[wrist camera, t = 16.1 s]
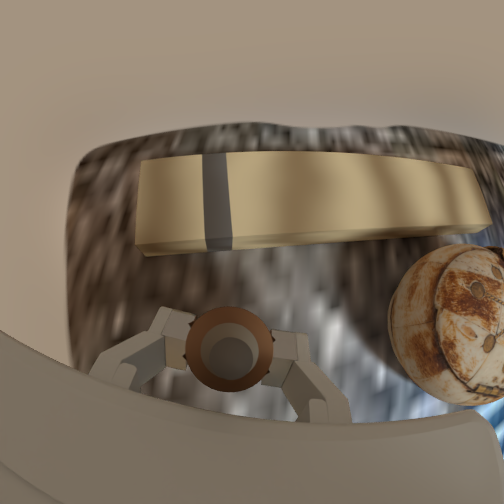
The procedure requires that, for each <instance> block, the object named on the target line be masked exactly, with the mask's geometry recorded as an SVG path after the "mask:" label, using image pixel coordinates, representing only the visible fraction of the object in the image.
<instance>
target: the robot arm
mask: <svg viewBox="0 0 504 504" xmlns="http://www.w3.org/2000/svg"><path fill="white" fill-rule="evenodd" d="M196 320H197V315H196V314H192V313H188V312H184V311H180V310H176V309H171V308H167V307H163V306H162V307H160V308H159V310H158V312H157V314H156V316H155V318H154V320H153V322H152V324H151V326H150V328H149V330H148V332H147V331H143V332H141V333H139V334H137V335H135V336H133V337H131V338H129V339H127V340H125V341H124V342H122V343H120V344H118V345H116V346H114V347H112V348H110V349H108V350H106V351H104V352H102V353H100V355H99V356H98V358H97V360H96V362H95V363H94V365H93V367H92V368H91V370H90V372H89V374H85V373H83V372H80V371H78V370H76V369H73V368H71V367H69V366H67V365H64V364H62V363H60V362H58V361H56V360H54V359H52V358H50V357H47V356H46V355H44V354H42V353H40V352H38V351H36V350H34V349H32V348H30V347H28V346H27V345H24V344H23V343H21V342H19V341H17V340H16V339H14V338H12V337H11V336H9V335H7V334H6V333H4V332H2V331H1V330H0V504H504V459H503V455H502V452H501V448H500V445H499V441H498V438H497V435H496V433H495V431H494V428H493V427H492V425H491V424H490V423H489V422H488V421H487V420H486V419H485V418H484V417H482V416H481V415H480V414H479V413H478V412H476V411H475V410H472V409H469V410H463V411H459V412H454V413H449V414H443V415H438V416H432V417H425V418H418V419H409V420H400V421H389V422H374V423H352V418H351V413H350V407H349V402H348V399H347V398H346V397H345V396H344V395H343V394H342V393H341V391H340V390H339V389H338V388H337V387H336V386H335V385H334V384H333V383H332V382H331V381H330V379H329V378H328V377H327V376H326V375H325V374H324V373H323V372H322V371H321V370H320V368H319V367H318V366H317V365H316V364H315V363H312V362H311V358H310V350H309V342H308V335H307V334H306V333H298V332H289V331H282V330H276V329H271V330H270V334H271V338H272V341H273V359H272V363H271V365H270V368H269V370H268V371H267V373H266V374H265V376H264V377H263V378H262V379H261V385H266V386H272V387H279V388H281V389H282V391H283V393H284V394H285V396H286V397H287V399H288V401H289V402H290V404H291V405H292V407H293V409H294V410H295V412H296V413H297V415H298V418H297V420H296V421H295V422H289V421H277V420H267V419H259V418H251V417H244V416H237V415H231V414H225V413H219V412H214V411H209V410H204V409H199V408H194V407H190V406H186V405H181V404H177V403H173V402H169V401H166V400H162V399H158V398H155V397H151V396H148V395H144V394H142V393H141V388H140V387H141V386H142V385H143V384H145V383H146V382H147V381H149V380H150V379H151V378H152V377H154V376H155V375H156V374H158V373H159V372H160V371H162V370H163V369H164V368H165V367H166V366H167V367H171V368H176V369H180V370H185V371H186V368H187V365H188V362H187V359H186V354H185V344H186V339H187V335H188V333H189V330H190V329H191V327H192V325H193V324H194V323H195V321H196Z"/></svg>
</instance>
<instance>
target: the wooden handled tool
mask: <svg viewBox="0 0 504 504" xmlns="http://www.w3.org/2000/svg"><path fill="white" fill-rule="evenodd" d="M185 354H186V359H187V362H188V365H189V367H190V369H191V371H192V372H193V374H194V375H195V376H196V378H197V379H198V380H199V381H201V382H202V383H203V384H205V385H206V386H208V387H210V388H212V389H214V390H217V391H222V392H238V391H242V390H246V389H248V388H250V387H252V386H254V385H255V384H256V383H258V382H259V381H260V380H261V379H262V378H263V377H264V376H265V374H266V373H267V371H268V370H269V368H270V365H271V363H272V359H273V341H272V338H271V334H270V332H269V330H268V328H267V327H266V325H265V324H264V323H263V322H262V320H260V319H259V318H258V317H257V316H256V315H254V314H253V313H251V312H249V311H247V310H245V309H242V308H238V307H219V308H216V309H213V310H210V311H208V312H207V313H205V314H203V315H202V316H201V317H199V318H198V319H197V320H196V321H195V323H194V324H193V325H192V327H191V329H190V330H189V333H188V335H187V339H186V344H185Z"/></svg>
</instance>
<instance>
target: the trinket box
mask: <svg viewBox="0 0 504 504" xmlns="http://www.w3.org/2000/svg"><path fill="white" fill-rule="evenodd" d="M388 333H389V337H390V341H391V344H392V348H393V351H394V353H395V355H396V357H397V359H398V361H399V363H400V364H401V365H402V366H403V368H404V370H405V371H406V373H407V374H408V376H409V377H410V378H411V379H412V380H413V381H414V382H415V383H416V384H417V385H418V386H419V387H420V388H421V389H423V390H424V391H425V392H427V393H428V394H430V395H432V396H433V397H435V398H437V399H439V400H442V401H444V402H447V403H451V404H456V405H465V406H475V405H483V404H488V403H491V402H494V401H497V400H499V399H501V398H503V397H504V248H499V247H496V246H487V247H481V246H477V245H472V244H454V245H448V246H444V247H441V248H438V249H436V250H434V251H432V252H430V253H428V254H426V255H425V256H423V257H422V258H421V259H419V260H418V261H417V262H416V263H415V264H414V265H412V266H411V267H410V269H409V270H408V271H407V272H406V273H405V275H404V276H403V278H402V279H401V281H400V283H399V285H398V287H397V289H396V290H395V292H394V294H393V296H392V299H391V301H390V304H389V309H388Z"/></svg>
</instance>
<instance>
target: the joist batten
mask: <svg viewBox="0 0 504 504" xmlns="http://www.w3.org/2000/svg"><path fill="white" fill-rule="evenodd" d="M491 224H493V223H492V220H491V217H490V214H489V211H488V208H487V205H486V202H485V200H484V197H483V194H482V192H481V189H480V187H479V184H478V182H477V179H476V177H475V175H474V172H473V170H472V169H470V168H465V167H459V166H454V165H448V164H442V163H436V162H429V161H422V160H415V159H407V158H399V157H389V156H379V155H368V154H354V153H337V152H309V151H260V152H232V153H214V154H200V155H188V156H178V157H168V158H159V159H151V160H144V161H141V166H140V175H139V185H138V197H137V210H136V228H135V245H136V246H137V248H138V249H139V250H140V251H141V252H142V253H143V254H144V255H145V256H146V257H148V256H161V255H174V254H187V253H200V252H214V251H227V250H240V249H254V248H267V247H281V246H294V245H308V244H322V243H336V242H350V241H364V240H378V239H393V238H407V237H422V236H436V235H451V234H466V233H477V232H479V231H481V230H483V229H484V228H486V227H488V226H490V225H491Z"/></svg>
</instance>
